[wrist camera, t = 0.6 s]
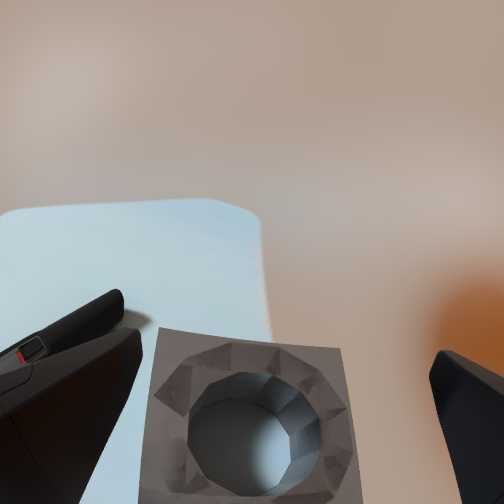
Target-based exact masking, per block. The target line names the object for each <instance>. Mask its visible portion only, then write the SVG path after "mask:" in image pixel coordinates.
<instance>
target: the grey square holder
mask: <svg viewBox="0 0 504 504" xmlns="http://www.w3.org/2000/svg"><path fill="white" fill-rule="evenodd" d="M223 399H229V400H242V401H252V402H254V403H255V404H257V405H259V406H261V407H262V408H264V409H266V410H268V411H269V412H271V413H273V414H275V415H276V417H277V418H278V420H279V422H280V423H281V425H282V426H283V428H284V429H285V431H286V432H287V434H288V435H289V437H290V452H291V463H290V465H289V467H288V468H287V470H286V472H285V474H284V476H283V478H282V479H281V481H280V483H279V485H277V486H275V487H274V488H272V489H270V490H268V491H266V492H265V493H263V494H261V495H259V496H256V497H240V496H238V495H236V494H235V493H233V492H231V491H229V490H227V489H225V488H223V487H222V486H220V485H218V484H216V483H214V482H213V481H211V480H209V479H207V478H206V477H205V475H204V474H203V472H202V470H201V469H200V467H199V465H198V463H197V462H196V460H195V458H194V456H193V455H192V453H191V451H190V449H189V447H188V446H187V438H188V423H189V422H190V421H191V420H192V418H193V417H194V416H195V414H196V413H197V412H198V410H199V409H201V408H204V407H206V406H209V405H211V404H213V403H216V402H218V401H221V400H223ZM138 504H363V498H362V489H361V480H360V471H359V463H358V456H357V448H356V441H355V434H354V427H353V420H352V414H351V408H350V402H349V396H348V390H347V384H346V379H345V373H344V367H343V362H342V356H341V351H340V348H328V347H313V346H299V345H289V344H278V343H268V342H259V341H250V340H241V339H233V338H225V337H218V336H211V335H204V334H197V333H190V332H184V331H178V330H172V329H166V328H160V327H159V331H158V337H157V343H156V349H155V355H154V361H153V368H152V374H151V381H150V388H149V395H148V403H147V411H146V419H145V428H144V437H143V446H142V457H141V468H140V481H139V496H138Z"/></svg>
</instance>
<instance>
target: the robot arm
mask: <svg viewBox="0 0 504 504" xmlns="http://www.w3.org/2000/svg"><path fill="white" fill-rule="evenodd" d="M142 357H143V350H142V342H141V334H140V331H139V330H138V329H135V328H130V327H125V328H122V329H120V330H117V331H115V332H112V333H110V334H107V335H105V336H102V337H99V338H97V339H94V340H92V341H89V342H87V343H84V344H82V345H79V346H76V347H74V348H71V349H69V350H66V351H63V352H61V353H58V354H56V355H53V356H50V357H48V358H45V359H42V360H40V361H37V362H35V363H34V364H33V363H32V364H29V365H26V366H24V367H21V368H18V369H15V370H12V371H9V372H6V373H3V374H0V504H79V502H80V500H81V498H82V495H83V493H84V491H85V489H86V486H87V484H88V482H89V480H90V478H91V475H92V473H93V471H94V469H95V467H96V465H97V462H98V460H99V458H100V456H101V454H102V452H103V450H104V447H105V445H106V443H107V441H108V439H109V437H110V435H111V433H112V431H113V429H114V427H115V425H116V423H117V421H118V418H119V416H120V414H121V412H122V410H123V408H124V406H125V404H126V402H127V400H128V397H129V395H130V392H131V389H132V386H133V383H134V381H135V378H136V375H137V372H138V369H139V367H140V364H141V361H142ZM429 380H430V384H431V388H432V393H433V397H434V401H435V406H436V410H437V414H438V418H439V422H440V425H441V428H442V431H443V434H444V437H445V441H446V444H447V447H448V450H449V454H450V457H451V461H452V465H453V468H454V472H455V476H456V480H457V484H458V488H459V492H460V496H461V500H462V504H504V378H503V377H501V376H499V375H497V374H496V373H494V372H492V371H490V370H488V369H486V368H484V367H482V366H480V365H478V364H476V363H474V362H473V361H471V360H469V359H467V358H465V357H463V356H461V355H459V354H457V353H455V352H453V351H451V350H442V351H439V352H438V353H437V355H436V358H435V360H434V363H433V365H432V368H431V370H430V373H429Z"/></svg>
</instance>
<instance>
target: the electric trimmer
mask: <svg viewBox="0 0 504 504" xmlns="http://www.w3.org/2000/svg"><path fill="white" fill-rule="evenodd" d="M123 316H124V298H123V295H122V293H121V291H120V290H118V289H113V290H111V291H109V292H107V293H106V294H104V295H102V296H100V297H98V298H97V299H95V300H93V301H91V302H90V303H88V304H86V305H84V306H83V307H81V308H79V309H77V310H76V311H74V312H72V313H70V314H68V315H67V316H65V317H63V318H62V319H60V320H58V321H56V322H55V323H53V324H51V325H49V326H48V327H46V328H44V329H43V330H40V331H38V332H35V333H33V334H31V335H29V336H28V337H26V338H24V339H22V340H21V341H19V342H17V343H15V344H14V345H12V346H10V347H9V348H7V349H5V350H4V351H2V352H0V374H3V373H6V372H9V371H12V370H15V369H18V368H21V367H24V366H26V365H29V364H32V363H33V364H34V363H35V362H37V361H40V360H42V359H45V358H48V357H50V356H53V355H56V354H58V353H61V352H63V351H66V350H69V349H71V348H74V347H76V346H79V345H82V344H84V343H87V342H89V341H92V340H94V339H97V338H99V337H102V336H104V335H105V334H106V333H108V332H109V331H110V330H111V329H112V328H113V327H114V326H115V325H117V324H118V323H119V322H120V321H121V320H122V318H123Z"/></svg>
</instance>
